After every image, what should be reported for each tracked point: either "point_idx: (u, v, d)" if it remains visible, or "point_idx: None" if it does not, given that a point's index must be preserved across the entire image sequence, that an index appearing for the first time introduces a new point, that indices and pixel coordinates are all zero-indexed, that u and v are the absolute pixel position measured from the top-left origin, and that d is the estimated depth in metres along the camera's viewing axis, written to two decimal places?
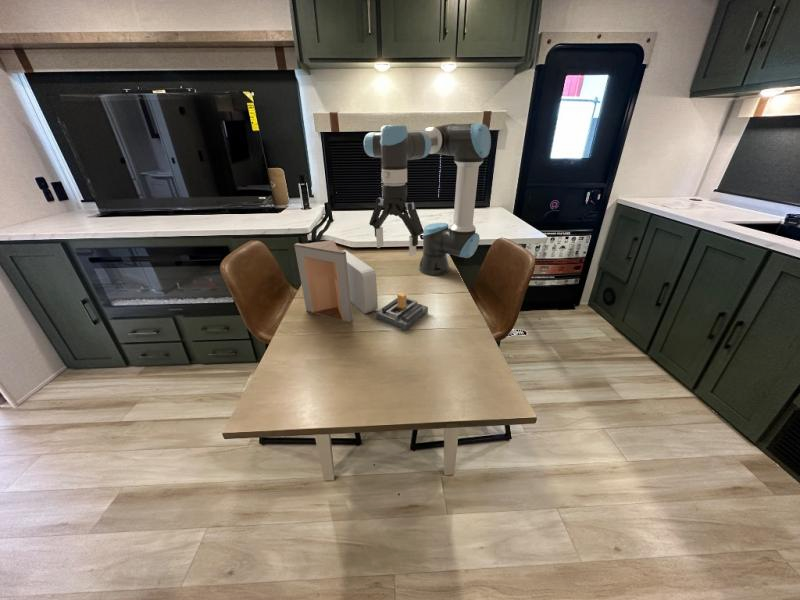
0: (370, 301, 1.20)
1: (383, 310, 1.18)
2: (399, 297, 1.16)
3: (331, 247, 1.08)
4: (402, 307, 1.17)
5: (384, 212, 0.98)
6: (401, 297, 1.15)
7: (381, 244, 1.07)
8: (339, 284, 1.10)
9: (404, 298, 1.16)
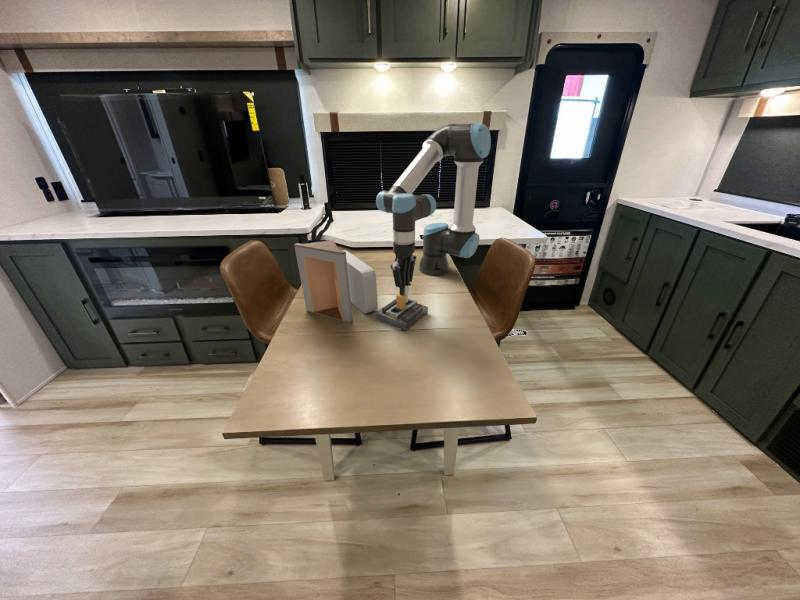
0: (370, 301, 1.20)
1: (383, 310, 1.18)
2: (398, 298, 1.16)
3: (331, 247, 1.08)
4: (401, 308, 1.17)
5: None
6: (400, 298, 1.15)
7: None
8: (339, 284, 1.10)
9: (403, 299, 1.15)
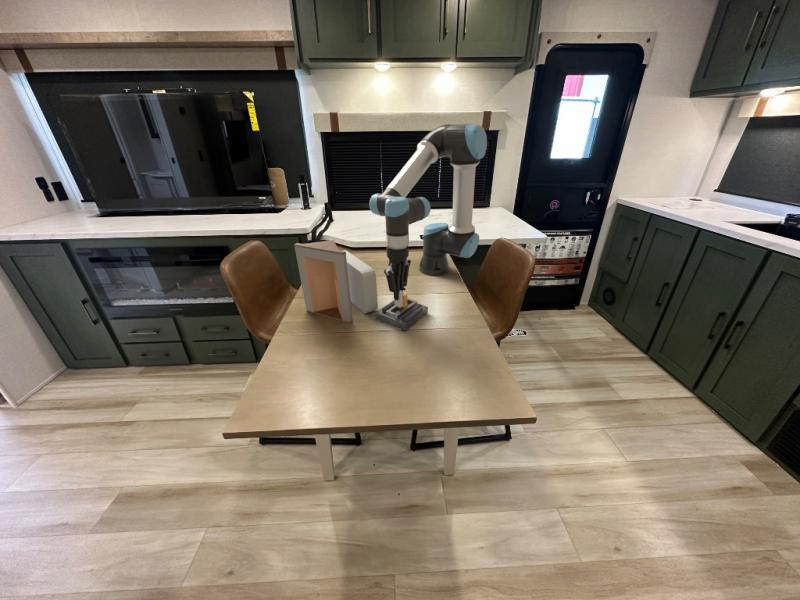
0: (370, 301, 1.20)
1: (383, 310, 1.18)
2: None
3: (331, 247, 1.08)
4: (403, 306, 1.18)
5: None
6: None
7: None
8: (339, 284, 1.10)
9: (405, 297, 1.16)
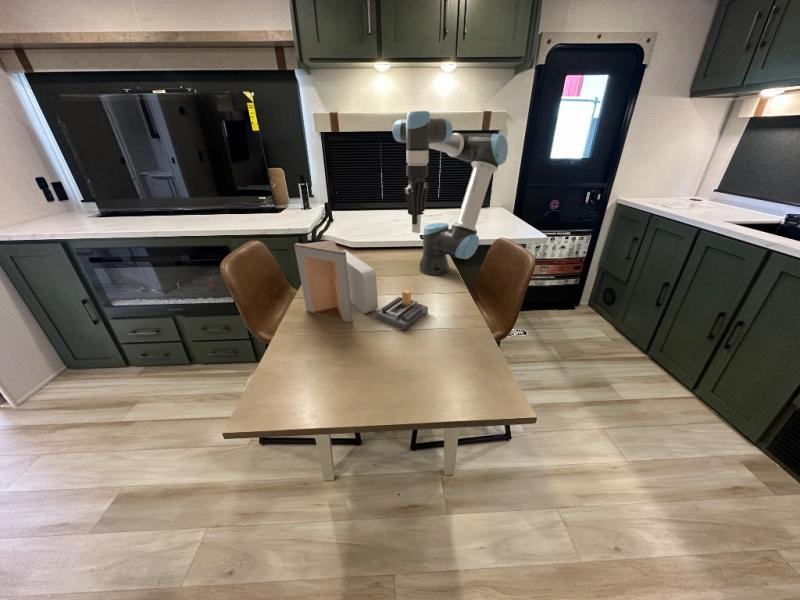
0: (370, 301, 1.20)
1: (383, 310, 1.18)
2: (404, 294, 1.18)
3: (331, 247, 1.08)
4: (407, 304, 1.19)
5: None
6: (406, 294, 1.18)
7: None
8: (339, 284, 1.10)
9: (409, 295, 1.18)
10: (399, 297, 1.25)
